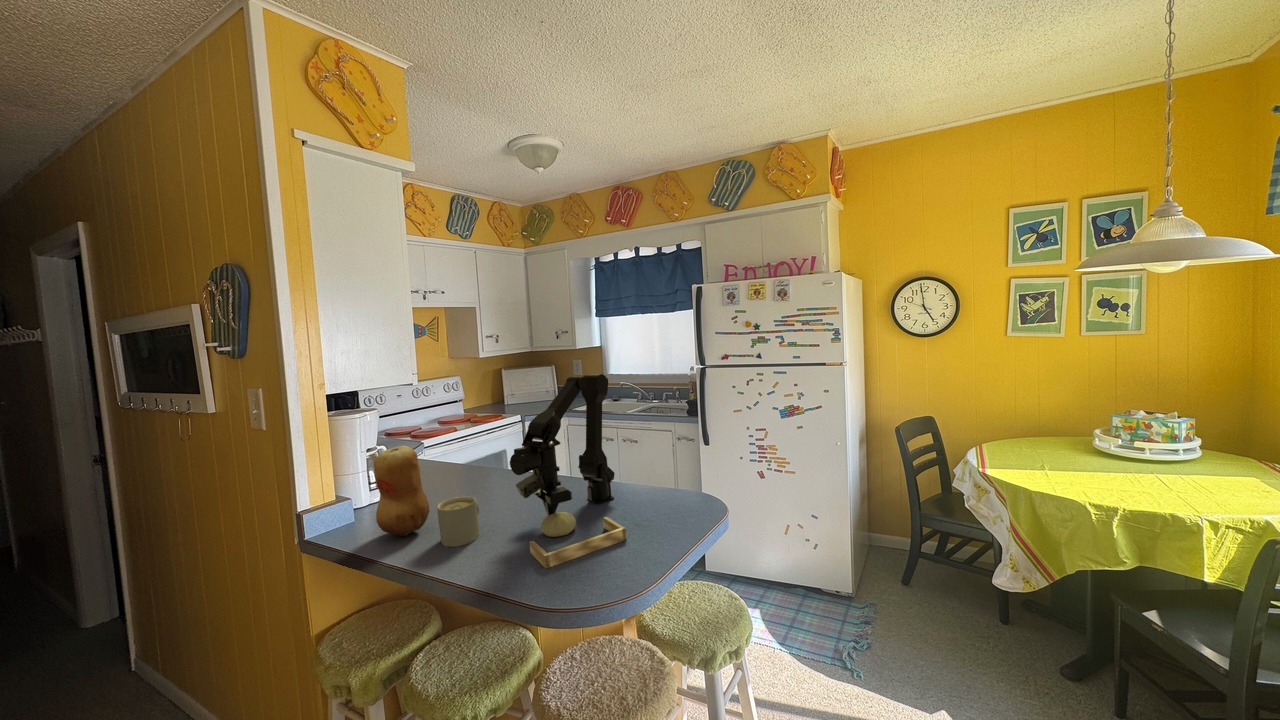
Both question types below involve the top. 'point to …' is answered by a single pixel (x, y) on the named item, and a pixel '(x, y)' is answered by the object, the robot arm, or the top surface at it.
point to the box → (580, 545)
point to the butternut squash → (400, 491)
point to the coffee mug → (458, 521)
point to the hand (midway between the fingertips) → (551, 518)
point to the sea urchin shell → (558, 524)
